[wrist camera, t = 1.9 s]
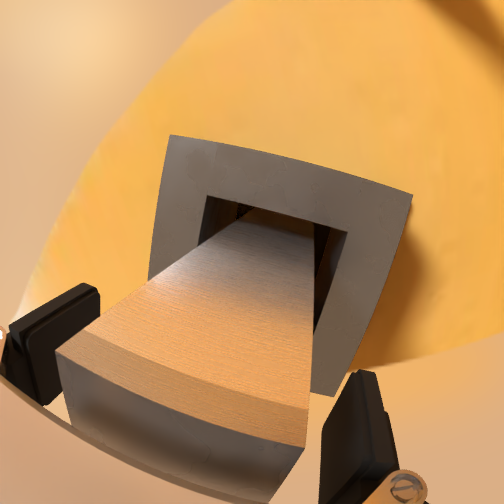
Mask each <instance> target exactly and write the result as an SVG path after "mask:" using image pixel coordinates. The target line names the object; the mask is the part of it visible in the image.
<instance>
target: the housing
mask: <svg viewBox="0 0 504 504" xmlns="http://www.w3.org/2000/svg"><path fill="white" fill-rule="evenodd" d="M412 197H413V195H412V194H409V193H406V192H404V191H401V190H398V189H395V188H392V187H389V186H386V185H383V184H380V183H377V182H374V181H370V180H367V179H364V178H361V177H357V176H354V175H351V174H347V173H344V172H341V171H337V170H334V169H330V168H326V167H323V166H319V165H315V164H312V163H308V162H304V161H300V160H296V159H292V158H288V157H284V156H280V155H275V154H271V153H267V152H262V151H258V150H253V149H248V148H243V147H239V146H234V145H229V144H223V143H218V142H213V141H207V140H201V139H195V138H189V137H183V136H176V135H170V137H169V141H168V146H167V151H166V156H165V162H164V167H163V172H162V178H161V184H160V190H159V196H158V202H157V208H156V215H155V222H154V229H153V237H152V245H151V253H150V262H149V272H148V281H149V280H151V279H152V278H154V277H155V276H156V275H158V274H159V273H161V272H162V271H163V270H165V269H166V268H168V267H169V266H171V265H172V264H173V263H175V262H176V261H178V260H179V259H181V258H182V257H183V256H185V255H186V254H188V253H189V252H191V251H192V250H194V249H195V248H196V247H198V246H199V245H201V244H202V243H204V242H205V241H207V240H208V239H210V238H211V237H213V236H214V235H215V234H217V233H218V232H220V231H221V230H223V229H224V228H226V227H227V226H229V225H230V224H232V223H233V222H235V218H236V213H237V209H238V204H239V203H243V204H247V205H251V206H255V207H259V208H262V209H266V210H270V211H274V212H278V213H282V214H285V215H289V216H293V217H297V218H300V219H304V220H308V221H311V222H315V223H318V224H322V225H326V226H329V227H331V230H330V233H329V237H328V240H327V244H326V247H325V250H324V254H323V257H322V260H321V264H320V267H319V270H318V273H317V277H316V280H315V283H314V310H313V341H312V363H311V381H310V392H313V393H317V394H322V395H326V396H330V397H334V396H335V394H336V392H337V390H338V388H339V386H340V384H341V382H342V380H343V378H344V376H345V374H346V372H347V370H348V368H349V366H350V364H351V362H352V360H353V358H354V356H355V354H356V351H357V349H358V347H359V345H360V343H361V340H362V338H363V336H364V334H365V331H366V329H367V327H368V324H369V322H370V320H371V317H372V315H373V312H374V310H375V307H376V305H377V302H378V300H379V297H380V295H381V292H382V290H383V287H384V284H385V282H386V279H387V276H388V273H389V271H390V268H391V265H392V262H393V259H394V256H395V253H396V250H397V247H398V244H399V241H400V238H401V235H402V232H403V229H404V225H405V222H406V219H407V215H408V212H409V208H410V205H411V201H412Z"/></svg>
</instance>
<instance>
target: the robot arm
mask: <svg viewBox="0 0 504 504" xmlns="http://www.w3.org/2000/svg"><path fill="white" fill-rule="evenodd" d="M98 317H100V294H99V293H98V290H97V288H96V287H93V286H91V285H89V284H86V283H81V284H79V285H77V286H76V287H74V288H72V289H70V290H68V291H67V292H65V293H63V294H61V295H59V296H58V297H56V298H54V299H52V300H51V301H49V302H47V303H45V304H44V305H42V306H40V307H39V308H37V309H35V310H33V311H32V312H30V313H28V314H27V315H25V316H23V317H22V318H20V319H18V320H17V321H15V322H13V323H12V324H10V325H9V330H10V332H9V333H8V334H6V331H5V329H4V328H3V327H2V326H0V504H267V503H262V502H258V501H254V500H249V499H245V498H241V497H237V496H234V495H230V494H226V493H223V492H219V491H216V490H213V489H210V488H206V487H203V486H200V485H197V484H194V483H191V482H189V481H186V480H183V479H180V478H178V477H175V476H172V475H170V474H167V473H165V472H162V471H160V470H157V469H155V468H153V467H150V466H148V465H146V464H143V463H141V462H139V461H137V460H135V459H132V458H130V457H128V456H126V455H124V454H122V453H120V452H118V451H116V450H114V449H112V448H110V447H108V446H106V445H104V444H103V443H101V442H99V441H97V440H95V439H93V438H92V437H90V436H88V435H86V434H85V433H83V432H81V431H80V430H78V429H76V428H75V427H73V426H71V425H70V424H68V423H66V422H65V421H63V420H61V419H60V418H59V417H57V416H56V415H54V414H53V413H51V412H50V411H48V410H47V409H45V408H44V407H43V406H44V405H49V404H50V403H51V402H52V401H53V400H54V399H55V398H56V397H57V396H58V395H59V394H60V393H61V392H62V391H63V389H62V385H61V380H60V375H59V370H58V365H57V360H56V354H55V350H56V349H57V348H59V347H60V346H61V345H63V344H64V343H65V342H67V341H68V340H69V339H70V338H72V337H73V336H74V335H76V334H77V333H78V332H80V331H81V330H82V329H84V328H85V327H86V326H88V325H89V324H90V323H92V322H93V321H94V320H96V319H97V318H98ZM426 497H427V486H426V483H425V482H424V480H423V479H422V478H421V477H420V476H419V475H418V474H416V473H414V472H412V471H408V470H400V468H399V463H398V458H397V452H396V448H395V442H394V437H393V433H392V428H391V423H390V419H389V415H388V413H387V412H385V411H384V407H383V403H382V398H381V394H380V390H379V386H378V381H377V378H376V374H375V373H374V372H371V371H366V370H361V369H359V370H358V371H357V372H356V373H355V372H352V373H351V375H350V377H349V379H348V381H347V383H346V384H345V386H344V388H343V390H342V392H341V394H340V396H339V398H338V400H337V402H336V403H335V405H334V407H333V409H332V411H331V412H330V414H329V416H328V418H327V420H326V421H325V423H324V425H323V428H322V437H321V465H320V485H319V501H318V504H429V503H427V502H426V501H425V499H426Z"/></svg>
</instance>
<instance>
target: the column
mask: <svg viewBox="0 0 504 504" xmlns="http://www.w3.org/2000/svg"><path fill="white" fill-rule="evenodd" d="M313 310H314V223H312V222H308V221H305V220H301V219H297V218H294V217H290V216H286V215H283V214H279V213H275V212H271V211H267V210H263V209H259V208H254V209H253V210H251V211H250V212H248V213H247V214H245V215H244V216H242V217H241V218H239V219H238V220H236V221H235V222H233V223H232V224H230V225H229V226H227V227H226V228H224V229H223V230H221V231H220V232H218V233H217V234H215V235H214V236H213V237H211V238H210V239H208V240H207V241H205V242H204V243H202V244H201V245H199V246H198V247H196V248H195V249H194V250H192V251H191V252H189V253H188V254H186V255H185V256H183V257H182V258H181V259H179V260H178V261H176V262H175V263H173V264H172V265H171V266H169V267H168V268H166V269H165V270H163V271H162V272H161V273H159V274H158V275H156V276H155V277H154V278H152V279H151V280H149V281H148V282H147V283H145V284H144V285H142V286H141V287H140V288H138V289H137V290H135V291H134V292H133V293H131V294H130V295H128V296H127V297H126V298H124V299H123V300H122V301H120V302H119V303H117V304H116V305H115V306H113V307H112V308H111V309H109V310H108V311H107V312H105V313H104V314H103V315H101V316H100V317H98V318H97V319H96V320H94V321H93V322H92V323H90V324H89V325H88V326H86V327H85V328H84V329H82V330H81V331H80V332H78V333H77V334H76V335H74V336H73V337H72V338H70V339H69V340H68V341H67V342H65V343H64V344H63V345H61V346H60V347H59V348H57V349H56V350H55V354H56V360H57V365H58V370H59V375H60V380H61V385H62V389H63V394H64V398H65V402H66V405H67V410H68V414H69V417H70V421H71V424H72V426H73V427H75V428H76V429H78V430H80V431H81V432H83V433H85V434H86V435H88V436H90V437H92V438H93V439H95V440H97V441H99V442H101V443H103V444H104V445H106V446H108V447H110V448H112V449H114V450H116V451H118V452H120V453H122V454H124V455H126V456H128V457H130V458H132V459H135V460H137V461H139V462H141V463H143V464H146V465H148V466H150V467H153V468H155V469H157V470H160V471H162V472H165V473H167V474H170V475H172V476H175V477H178V478H180V479H183V480H186V481H189V482H191V483H194V484H197V485H200V486H203V487H206V488H210V489H213V490H216V491H219V492H223V493H226V494H230V495H234V496H237V497H241V498H245V499H249V500H254V501H258V502H262V503H267V504H268V502H269V501H270V500H271V498H272V497H273V496H274V494H275V493H276V491H277V490H278V488H279V487H280V486H281V484H282V483H283V481H284V480H285V478H286V477H287V475H288V474H289V472H290V471H291V469H292V468H293V466H294V465H295V463H296V462H297V460H298V459H299V457H300V455H301V454H302V452H303V451H304V449H305V444H306V434H307V422H308V410H309V396H310V395H309V394H310V381H311V363H312V341H313Z"/></svg>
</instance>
